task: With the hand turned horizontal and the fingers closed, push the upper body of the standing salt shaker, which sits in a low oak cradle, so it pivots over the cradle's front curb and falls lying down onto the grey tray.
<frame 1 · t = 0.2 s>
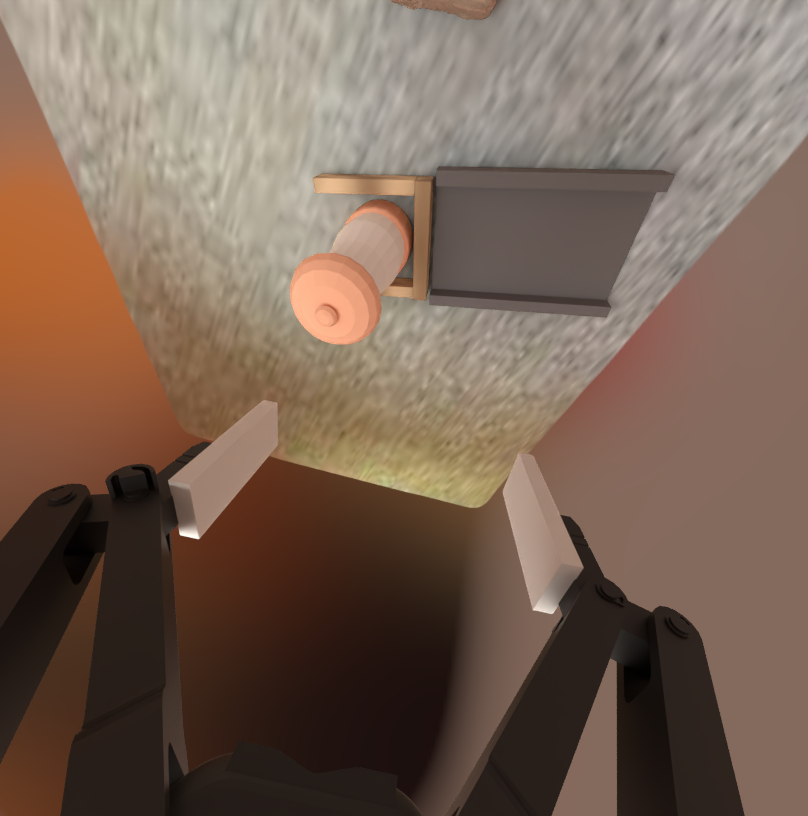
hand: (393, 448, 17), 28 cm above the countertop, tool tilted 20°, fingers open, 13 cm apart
grey tray: (527, 243, 34), on the countertop
oak cradle: (381, 237, 36), on the countertop
salt shaker: (382, 236, 36), resting in oak cradle
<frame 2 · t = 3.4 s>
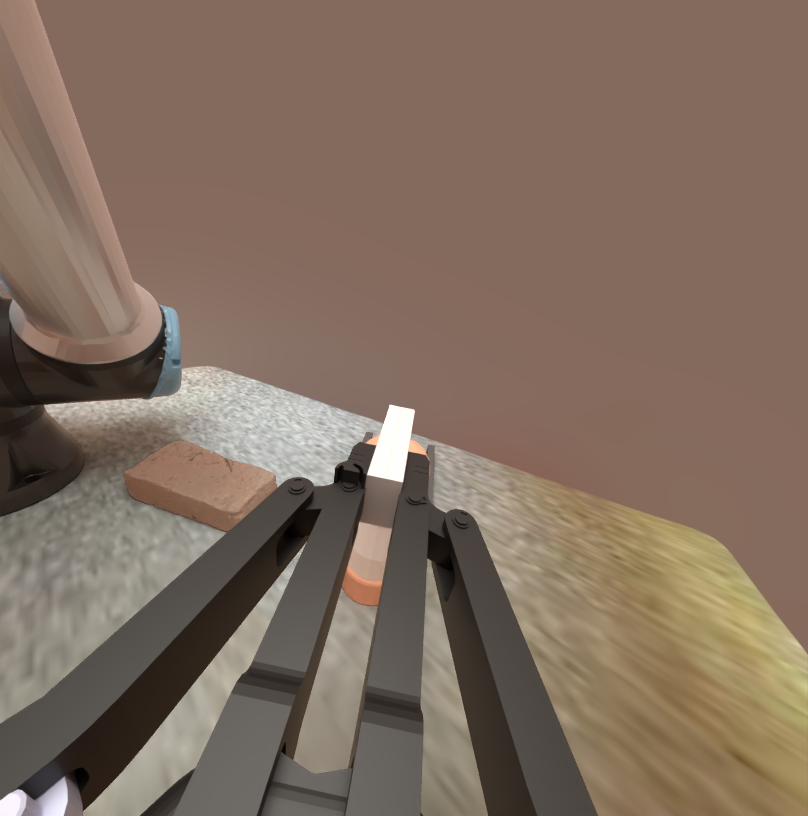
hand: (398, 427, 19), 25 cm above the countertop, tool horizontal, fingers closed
grey tray: (390, 483, 51), on the countertop
brick: (208, 497, 43), on the countertop
salt shaker: (370, 575, 37), resting in oak cradle
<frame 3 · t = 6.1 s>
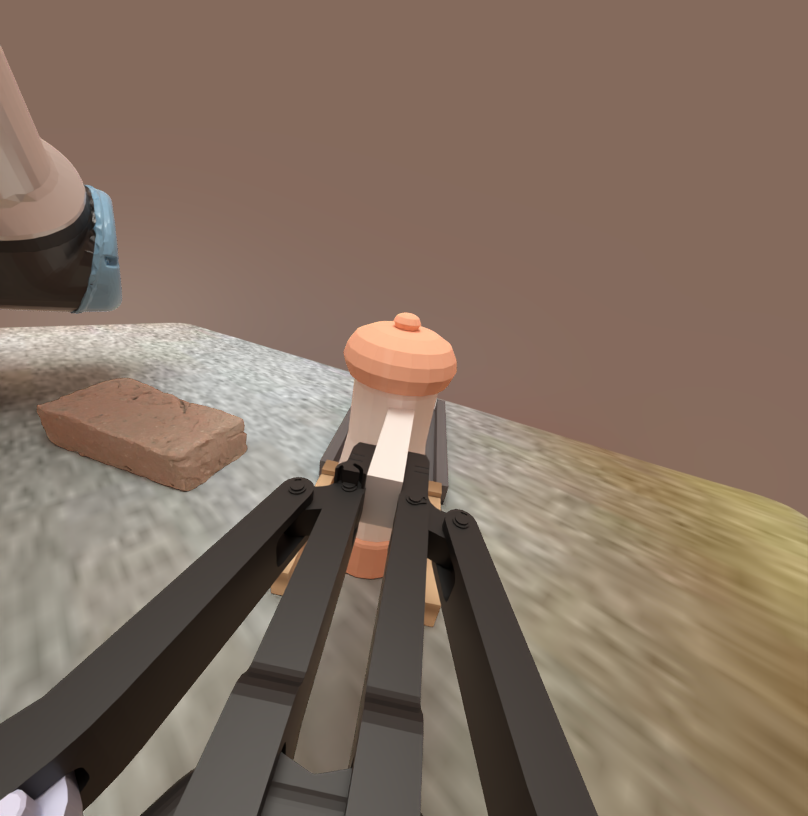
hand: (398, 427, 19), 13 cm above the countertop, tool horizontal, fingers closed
grey tray: (393, 439, 41), on the countertop
oak cradle: (369, 539, 27), on the countertop
brick: (156, 448, 33), on the countertop
salt shaker: (368, 540, 27), resting in oak cradle, touching gripper
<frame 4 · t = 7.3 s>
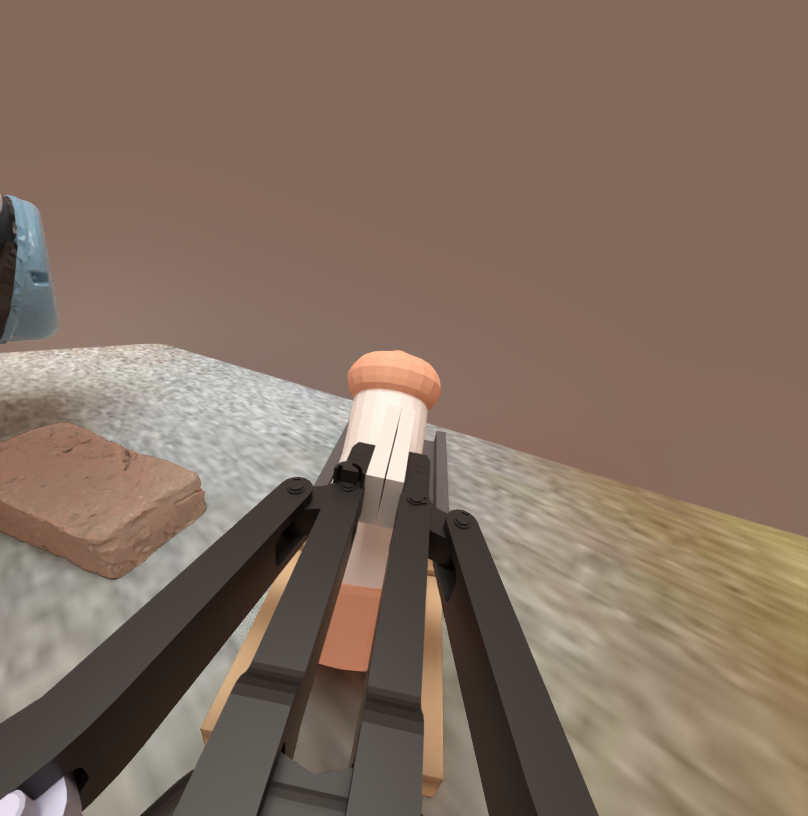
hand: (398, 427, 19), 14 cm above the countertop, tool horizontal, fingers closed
grey tray: (385, 484, 35), on the countertop
oak cradle: (349, 641, 21), on the countertop
brick: (94, 511, 27), on the countertop
salt shaker: (350, 643, 19), point 2 cm above the countertop, touching gripper
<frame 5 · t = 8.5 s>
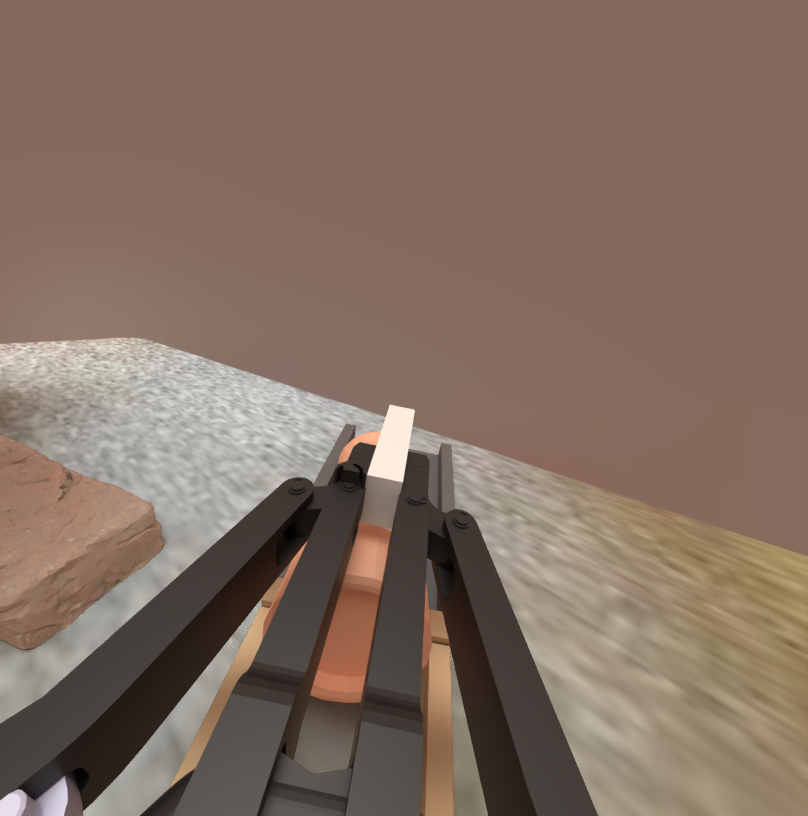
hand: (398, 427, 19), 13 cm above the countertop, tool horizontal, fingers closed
grey tray: (382, 508, 30), on the countertop
oak cradle: (331, 735, 16), on the countertop
brick: (25, 548, 22), on the countertop
salt shaker: (346, 649, 13), point 7 cm above the countertop, touching grey tray, oak cradle
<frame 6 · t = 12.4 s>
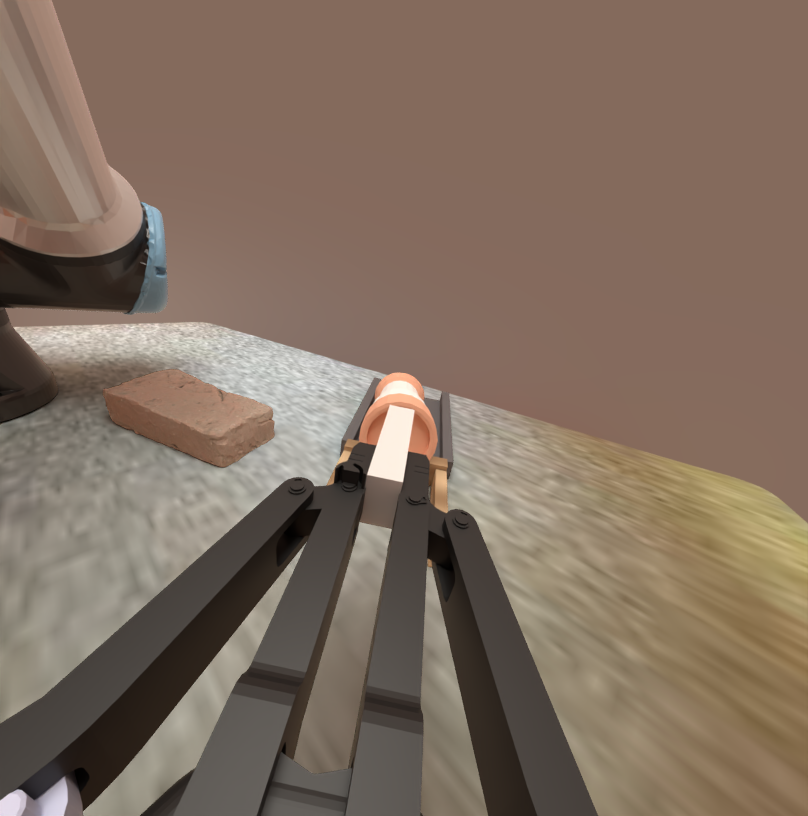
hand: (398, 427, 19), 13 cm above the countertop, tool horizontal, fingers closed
grey tray: (403, 425, 46), on the countertop
oak cradle: (386, 504, 32), on the countertop
brick: (197, 431, 38), on the countertop
salt shaker: (398, 440, 29), point 7 cm above the countertop, touching grey tray, oak cradle
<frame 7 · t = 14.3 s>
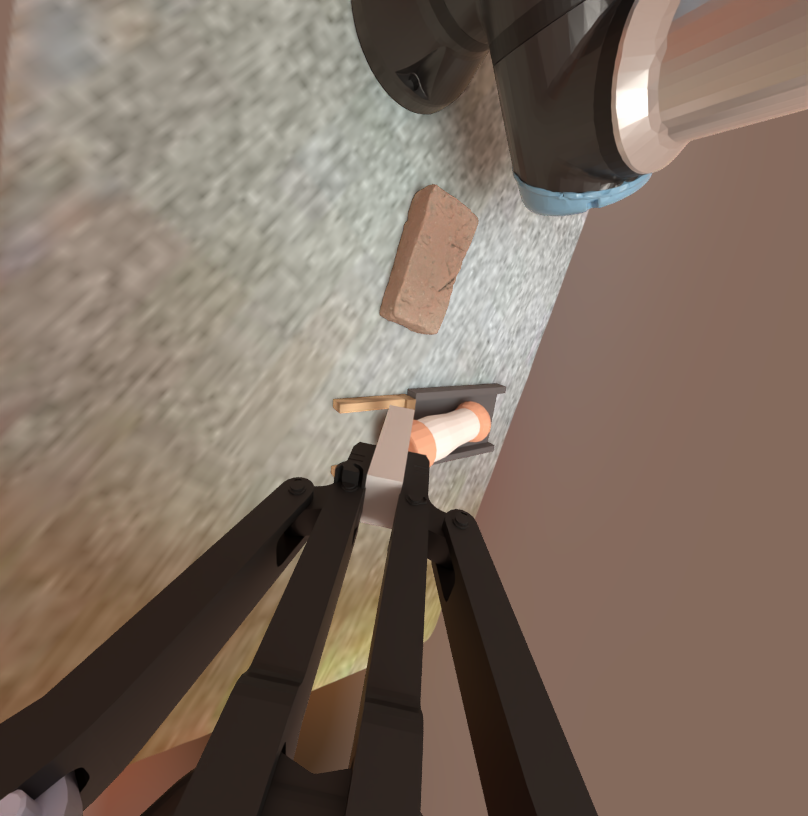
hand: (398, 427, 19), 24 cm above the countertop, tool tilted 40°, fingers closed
grey tray: (451, 421, 56), on the countertop
oak cradle: (370, 432, 48), on the countertop
brick: (417, 268, 44), on the countertop
salt shaker: (398, 452, 42), point 7 cm above the countertop, touching grey tray, oak cradle
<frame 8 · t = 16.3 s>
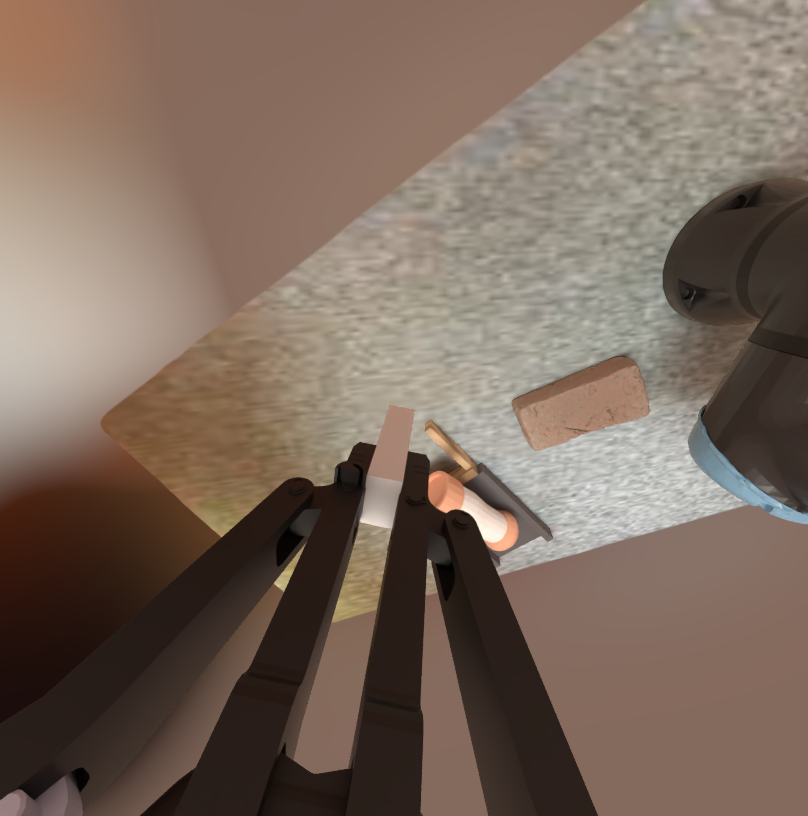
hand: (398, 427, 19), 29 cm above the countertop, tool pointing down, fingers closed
grey tray: (488, 513, 60), on the countertop
oak cradle: (430, 461, 56), on the countertop
brick: (570, 399, 49), on the countertop
salt shaker: (431, 491, 49), point 7 cm above the countertop, touching grey tray, oak cradle
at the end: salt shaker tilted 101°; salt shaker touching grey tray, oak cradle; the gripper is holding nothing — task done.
